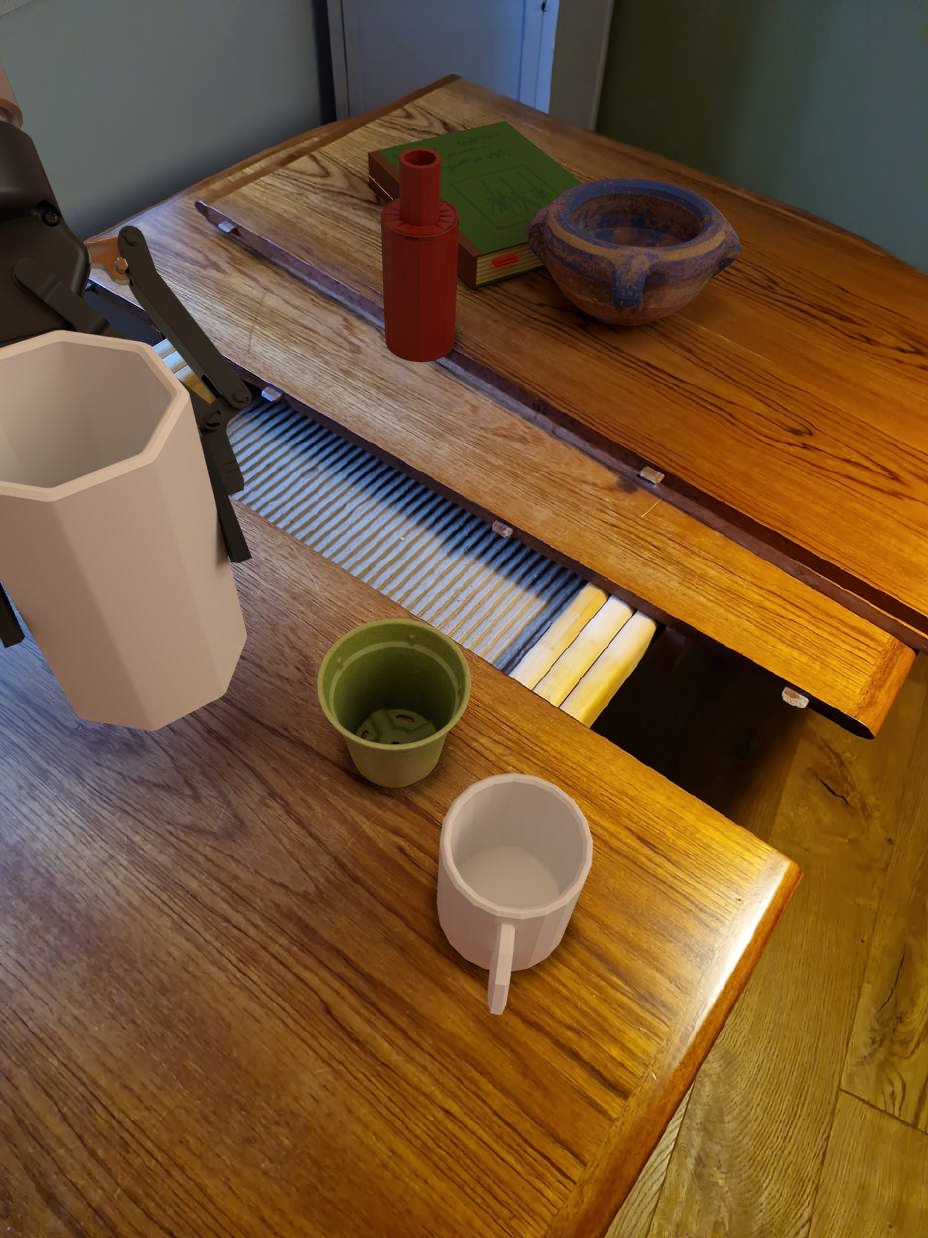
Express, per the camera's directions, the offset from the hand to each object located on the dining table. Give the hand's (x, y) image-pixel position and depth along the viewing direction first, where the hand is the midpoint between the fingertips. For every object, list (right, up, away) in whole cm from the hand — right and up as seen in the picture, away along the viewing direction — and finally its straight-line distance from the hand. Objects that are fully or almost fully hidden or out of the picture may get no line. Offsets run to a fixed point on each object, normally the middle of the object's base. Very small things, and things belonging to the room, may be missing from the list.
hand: (133, 600), depth 45 cm
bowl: (+33, +33, +50) cm, 68 cm away
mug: (+19, -20, +9) cm, 29 cm away
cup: (-2, -3, +8) cm, 9 cm away
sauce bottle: (+12, +27, +44) cm, 53 cm away
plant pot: (+12, -10, +16) cm, 23 cm away
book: (+20, +46, +59) cm, 77 cm away
